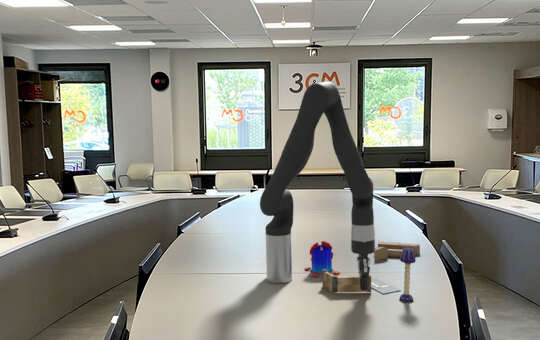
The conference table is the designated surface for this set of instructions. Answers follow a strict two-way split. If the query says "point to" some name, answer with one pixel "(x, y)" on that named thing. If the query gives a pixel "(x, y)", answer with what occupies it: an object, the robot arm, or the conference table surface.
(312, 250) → the fantasy tower
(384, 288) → the card
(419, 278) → the conference table surface
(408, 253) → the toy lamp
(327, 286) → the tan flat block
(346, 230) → the conference table surface
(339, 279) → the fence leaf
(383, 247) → the wooden block set
